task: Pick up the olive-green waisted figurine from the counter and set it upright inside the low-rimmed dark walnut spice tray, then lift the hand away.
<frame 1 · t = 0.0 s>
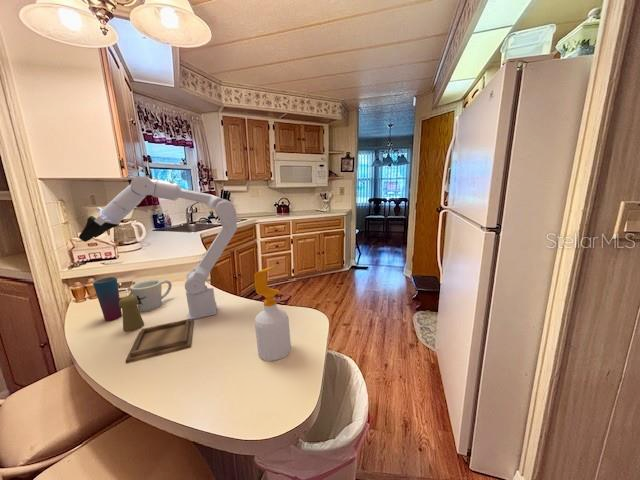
hand: (87, 237, 81), 32 cm above the worktop, tool tilted 50°, fingers open, 7 cm apart
soap bottle: (274, 351, 74), on the worktop
cup: (113, 318, 98), on the worktop
mug: (156, 305, 108), on the worktop
olive-green waisted figurine: (134, 327, 91), on the worktop
spice tray: (164, 340, 82), on the worktop
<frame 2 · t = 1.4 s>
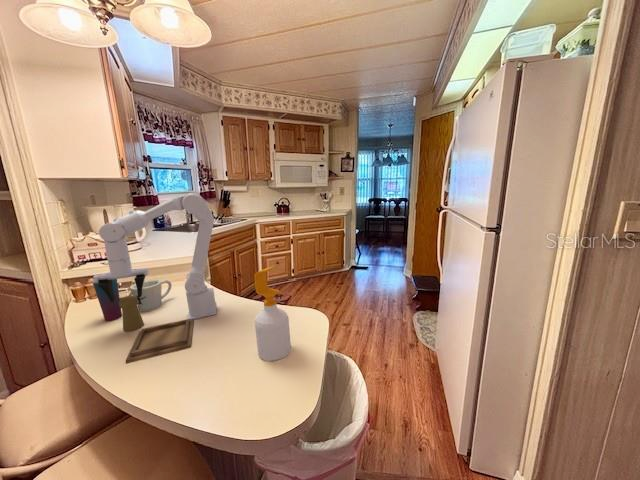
hand: (126, 298, 88), 11 cm above the worktop, tool pointing down, fingers open, 7 cm apart
nothing on the worktop moved.
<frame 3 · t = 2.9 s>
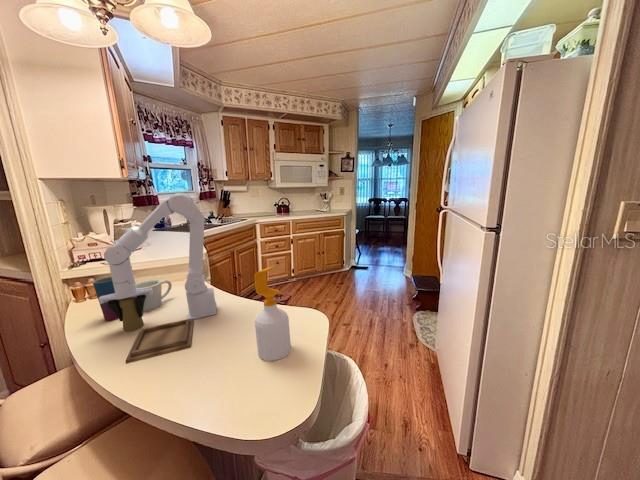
hand: (131, 318, 90), 3 cm above the worktop, tool pointing down, fingers closed on olive-green waisted figurine, 5 cm apart
olive-green waisted figurine: (134, 327, 91), on the worktop, touching gripper
everything else where it was.
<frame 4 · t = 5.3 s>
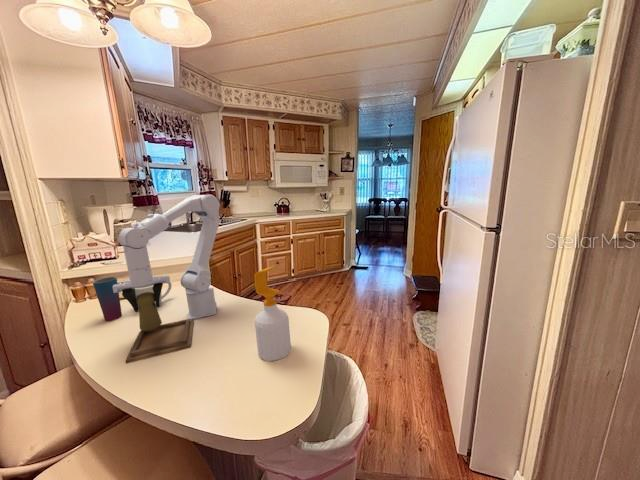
hand: (147, 308, 83), 9 cm above the worktop, tool pointing down, fingers closed on olive-green waisted figurine, 5 cm apart
olive-green waisted figurine: (151, 325, 85), point 3 cm above the worktop, touching gripper
everything else where it was.
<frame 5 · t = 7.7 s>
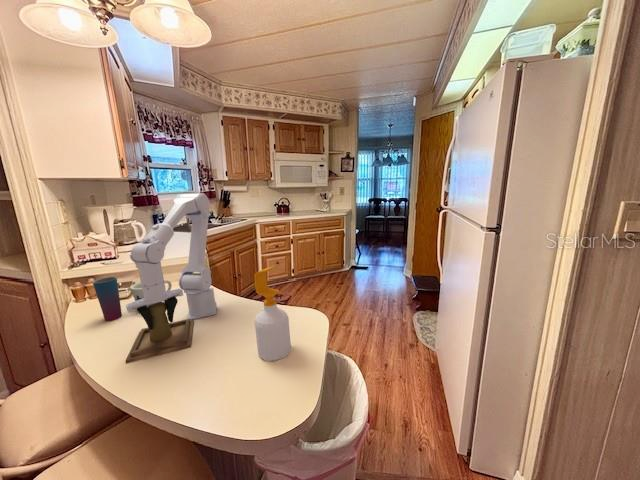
hand: (161, 324, 81), 5 cm above the worktop, tool pointing down, fingers closed on olive-green waisted figurine, 5 cm apart
olive-green waisted figurine: (161, 336, 82), point 1 cm above the worktop, touching gripper, spice tray
everything else where it was.
when the fingers open (5 cm above the worktop, at t = 8.8 s): olive-green waisted figurine stays where it is, resting on spice tray.
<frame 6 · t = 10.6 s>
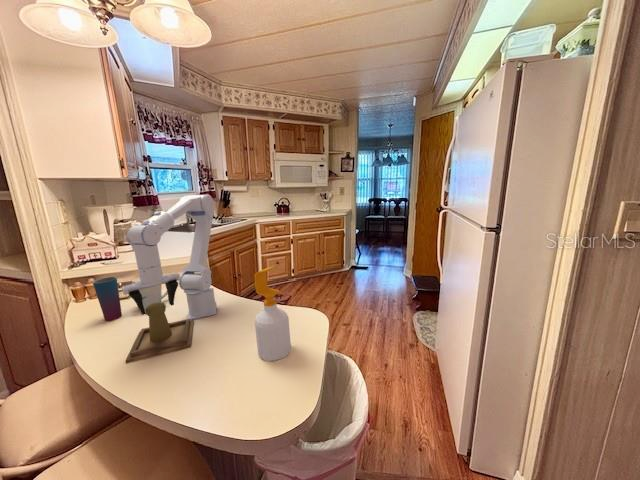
hand: (157, 308, 80), 10 cm above the worktop, tool pointing down, fingers open, 7 cm apart
olive-green waisted figurine: (161, 337, 82), point 1 cm above the worktop, touching spice tray
everything else where it was.
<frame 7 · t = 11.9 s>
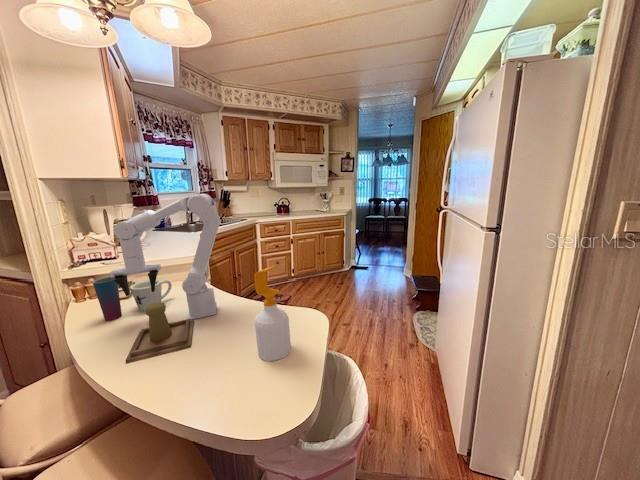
hand: (141, 292, 93), 10 cm above the worktop, tool pointing down, fingers open, 7 cm apart
nothing on the worktop moved.
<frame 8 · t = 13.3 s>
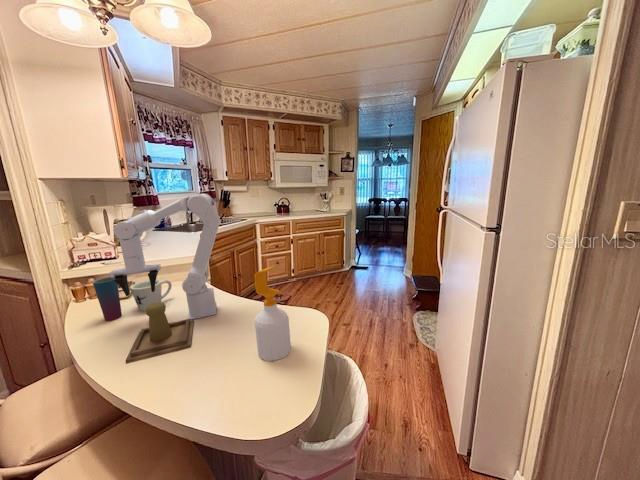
hand: (141, 292, 93), 10 cm above the worktop, tool pointing down, fingers open, 7 cm apart
nothing on the worktop moved.
at the end: olive-green waisted figurine inside the target area on the spice tray (1.3 cm from its centre), point 0.6 cm above the spice tray's base; olive-green waisted figurine tilted 0°; the gripper is holding nothing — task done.
